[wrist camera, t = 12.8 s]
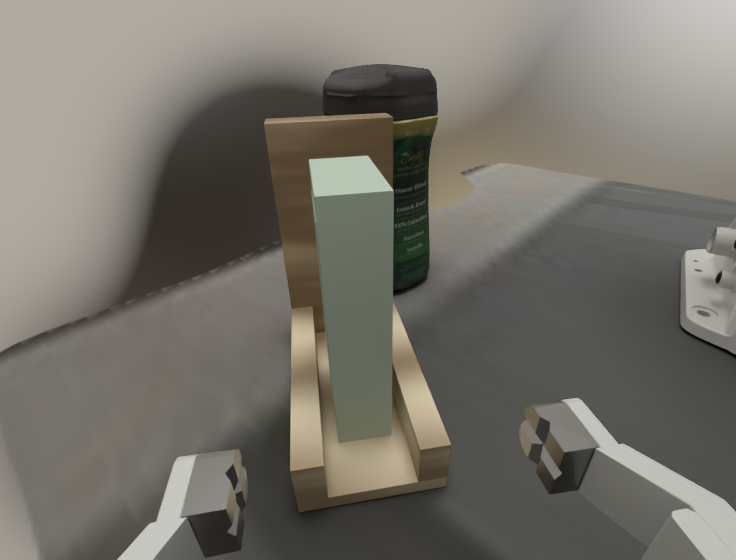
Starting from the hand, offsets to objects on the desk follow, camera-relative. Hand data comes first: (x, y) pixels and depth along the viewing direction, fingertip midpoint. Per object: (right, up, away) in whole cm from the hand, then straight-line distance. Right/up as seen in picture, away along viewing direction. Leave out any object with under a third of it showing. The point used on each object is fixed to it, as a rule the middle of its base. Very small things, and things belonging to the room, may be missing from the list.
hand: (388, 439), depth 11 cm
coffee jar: (+1, +5, +29) cm, 29 cm away
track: (-1, -3, +15) cm, 15 cm away
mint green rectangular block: (-1, -3, +13) cm, 14 cm away
